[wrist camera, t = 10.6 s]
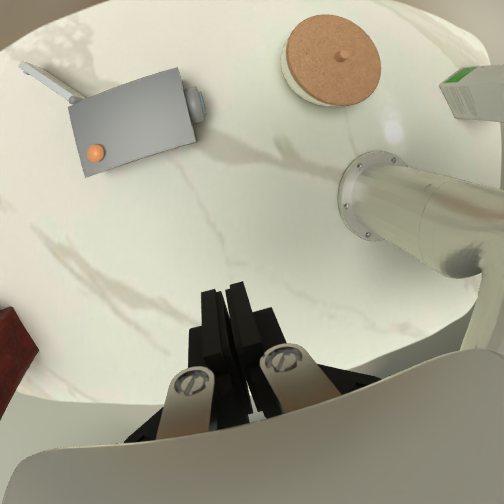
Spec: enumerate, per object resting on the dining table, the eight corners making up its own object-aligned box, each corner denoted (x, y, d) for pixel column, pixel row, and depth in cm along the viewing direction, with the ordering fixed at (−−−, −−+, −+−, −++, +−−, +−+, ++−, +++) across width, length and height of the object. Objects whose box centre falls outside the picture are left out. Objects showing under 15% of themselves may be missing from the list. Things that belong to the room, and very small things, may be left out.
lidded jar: (253, 64, 32) (269, 41, 23) (314, 21, 31) (343, -6, 22) (310, 127, 36) (342, 125, 27) (365, 81, 35) (406, 71, 26)
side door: (37, 75, 27) (15, 68, 22) (42, 68, 27) (20, 60, 22) (89, 111, 31) (71, 107, 25) (95, 103, 30) (77, 98, 25)
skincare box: (461, 67, 35) (532, 61, 20) (477, 101, 37) (547, 104, 23) (436, 85, 36) (513, 80, 21) (454, 121, 38) (529, 127, 24)
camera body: (195, 75, 32) (194, 60, 25) (211, 138, 35) (212, 136, 28) (88, 110, 31) (65, 105, 24) (103, 171, 34) (83, 178, 27)
